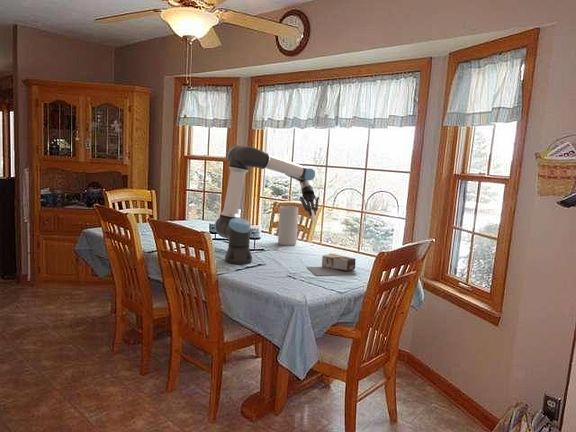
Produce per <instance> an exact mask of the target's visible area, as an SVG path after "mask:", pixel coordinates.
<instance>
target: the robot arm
mask: <svg viewBox="0 0 576 432" xmlns="http://www.w3.org/2000/svg"><path fill="white" fill-rule="evenodd" d="M226 158H227V161H228V168H229V170H230V173H229V178H228V183H227V187H226V188H227V189H226V194H225V200H224V205H223V210H222V211H221V212H220V213H219V217H218V218H217V219H216V220H215V222H214V230H215V232H216V234H217V235H218V236H220V237H222V239H224V238H225V239H226V240H228V246H227V250H226V253H225V255H224V256H225V257H224V261H225V263H227V262H228V263H227V264H231V263H232V265H248V264H251V263H252V261H253V255H252V252H251V250H250V243H251V242H250V238H251V223H250V222H249V220H247V219H245V218H241V216H240V215H239V209H240V206H241V205H240V204H241V200H242V193H243V187H244V181H245V176H246V174H247V173H248V172H249V170H250V168H255V169H261V170H264V169H267V170H271V171H275V172H278V173H282V174H284V175H285V176H287V177H289V178H290V179H293V180H295V181H297V182H299V184H300V190H301V194H302V196H300V197H299V201H300V202H301V204H302V207H303V209H304V211H306V212H307V213H308V215H309V217H310V218H311V222H315V220H316V215H317V213H316V212H317V211H318V210H319V201H320V196H316V194H315V190H314V185H313V181H312V180H314V179H315V177H316V171H315V169H314V168H312V167H307V166H303V165H301V164H298V163H294V162H291V161H288V160H284V159H282V158H279V157H275V156H273V155H270V154H269V153H268V152H266V151H263V150H260V149H258V148H257V147H253V146H247V145H246V146H245V145H236V146H233V147H231V148H230V149H229V150H228V152H227V155H226ZM314 201H315V202H314Z"/></svg>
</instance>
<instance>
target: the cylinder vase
mask: <svg viewBox="0 0 576 432" xmlns="http://www.w3.org/2000/svg"><path fill="white" fill-rule="evenodd" d="M278 211H279V212H278V213H279V214H278V234H277V235H278V236H277V244H278V245H281V246H289V247H291V246H296V245H297V239H298V238H297V236H298V223H299V222H298V220H299V207H297V206H293V205H292V206H290V205H281V206H279V210H278Z"/></svg>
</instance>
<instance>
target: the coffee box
mask: <svg viewBox="0 0 576 432" xmlns="http://www.w3.org/2000/svg"><path fill="white" fill-rule="evenodd" d="M321 267H327V268H331V269H335V270H340V271H344V272H349V271H352V272H353V271H354V270H356V258H355V257H354V258H353V257H350V256H345V255H340V254H335V253H327V254H324V255H322V260H321Z"/></svg>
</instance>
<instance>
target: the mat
mask: <svg viewBox="0 0 576 432" xmlns="http://www.w3.org/2000/svg"><path fill="white" fill-rule="evenodd" d="M306 268H307V270H309V271H310V272H311V273H312V274H313V275H314V276H316V277H329V276H334V275H335V276H356V273H355V272H353V270H352V271H349V272H344V271H340V270H335V269H331V268H327V267H323V266H307V267H306Z"/></svg>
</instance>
